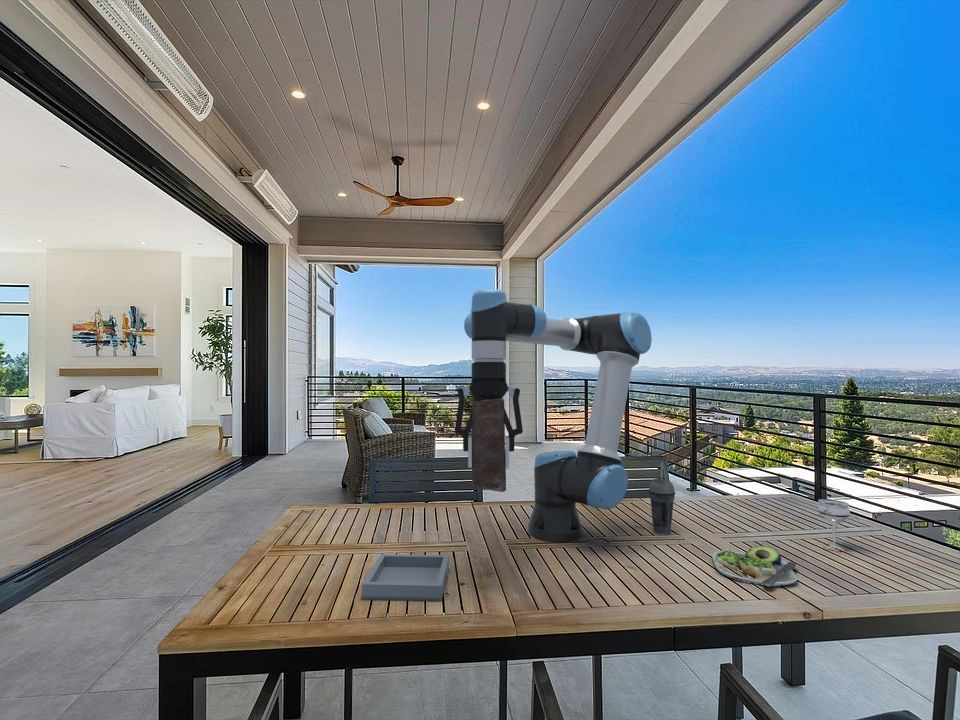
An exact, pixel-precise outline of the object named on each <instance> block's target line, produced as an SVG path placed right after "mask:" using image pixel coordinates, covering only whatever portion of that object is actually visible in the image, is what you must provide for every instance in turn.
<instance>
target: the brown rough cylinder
mask: <svg viewBox="0 0 960 720" xmlns="http://www.w3.org/2000/svg"><path fill="white" fill-rule="evenodd" d="M504 408H505V399H504V398H502V399H493V400H490V399H485V400H480V401H476V400H475V401H474V400H471V412H472V427H471V436H472V468H471V481H472V482H471V483H472V484H471V485H472V486H473V487H474V488H476V489H478V490H482V491H493V492H501V493H504V492H506V490H507V468H506V461H505V436H506V433H505V432H506V426H505V424H504Z"/></svg>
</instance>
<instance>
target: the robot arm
mask: <svg viewBox="0 0 960 720" xmlns="http://www.w3.org/2000/svg"><path fill="white" fill-rule="evenodd" d="M463 329H464V332H465V334H466V335H467V337H468V338H470V339H471V359H472V360H473V361H474V362H472V363H471V382H470V384H469V386H467V387H459V388H458V389H457V395H458V402H457V403H458V405H457V412H456V417H455V425H454V433H455V434H458V435H460V436H462V450H463V452H467V454H468V455H467V459H468V460H467V461H468V462H467V463H468V464H467V468H469V469H470V468H471V469H472V435H470V431H472V411H471V413H470V415H469V417H468V419H467V422H466V425H465V428H462V425H463V417H464V410H465V404H466V398H467V397H468V395H469V393H471V394H472V396H473V397H474V398H475V401H480V400H485V399H490V400H493V399H504V397H505V395H506V394H507V392H508V393H509V396H510V398H512V406H513V412H514V422H515V428H514V429H513V426H512V423H511V421H510V419H509V416H508V413H507V410H506V409H505V407H504V424H505V430H506V431H507V433H508V435H505V461H506V469H510V452H514V451H515V437H516V436H517V435H522V434H523V432H524V430H523V423H522V416H521V409H520V408H521V407H520V400H519V399H520V395H521V389H520V388H519V387H511V386H509V385H508V384H507V363H506V362H504V360H506V359H507V342H513V343H524V344H535V345H541V346H542V345H545V346H553V347H554V346H555V347H559V348H560V349H561V350H563V351H569V352H570V351H571V352H577V353H581V354H587V355H593V356H594V355H595V357H596V358H597V359H598V361H599V362H600V364H599V370H598V375H597V379H596V385H595V389H594V395H593V401H592V407H591V411H590V416H589V422H588V426H587V431H586V432H587V433H586V438H585V443H584V445H583V446H582V447H581V448H579V449H578V450H577V453H576V451H574V450H558V451H557V450H556V451H555V450H554V451H545V452H540V453H538V454H537V455H536V456H535V459H534V467H533V469H534V473H533V474H534V475H533V476H534V506H533V509H532V512H531V514H530V518H529V521H528V533H529V535H530V536H532V537H534V538H536V539H539V540H543V541H550V542H570V541H571V542H572V541H574V540H577V539H580V538H581V537H582V536H583V525H582V522H581V520H580V517H579V513H578V510H577V503H578V504H581V505H585V506H587V507H590V508H593V509H602V510H612V509H614V508H615V507H617V506H618V504H620V503H621V502H622V500H623V499H624V497H625V495H626V493H627V490H628V484H629V479H628V478H629V477H628V473H627V470H626V469H625V468H624V467H623V466H622V458H621V457H620V455H619V453H618V450H619V449H618V448H619V444H620V438H621V433H622V428H623V427H622V426H623V421H624V415H625V409H626V404H627V403H626V402H627V398H628V393H629V386H630V381H631V375H632V369H633V368H634V367H635V366H637V365H638V364H639V362H640V357H641V355H644V354H646V353H647V352H649V350H650V349H651V346H652V331H651V327H650V325H649V322H648V320H647V319H646V318H645V316H644V315H642V314H641V313H639V312H637V311H636V312H635V311H633V312H631V311H630V312H629V311H628V312H626V311H623V312H621V313H620V312H617V313H611V314H600V315H592V316H586V317H580V318H579V317H578V318H573V317H566V318H563V319H555V318H547V314H546V312H545V311H544V309H543V308H542V307H540V306H537V305H534V304H529V303H528V304H525V303H524V304H523V303H515V302H509V301H508V300H507V296H506V292H505V291H503V290H501V289H493V288H492V289H489V288H487V289H486V288H485V289H480V290H476V291H475V292H474V293H472V298H471V310H470V312H469V313H468V314H467V315H466V317H465V319H464V323H463Z"/></svg>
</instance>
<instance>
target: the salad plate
mask: <svg viewBox="0 0 960 720" xmlns="http://www.w3.org/2000/svg"><path fill="white" fill-rule="evenodd" d="M711 560H712V562H713V564H714V567H715V569H716V571H718V572H719V573H721V574H722V575H723V576H724V575H725V577H726V576H727V578H728V577H730V578H729V579H731V578H733V579H736V580H740V581H745V582H750V583H757V584H763V585H765V586H764V587H771V586H773V587H780V586H781V585H783V586H788V585H789V586H790V585H793V584H796V582H797V580H798V577H797V575H796V574H795V572H794V571H793V570H794V569H795V568H796V567H797V563H796V562H794V561H789V562H788V561H785V560H784V559H782V557H781V554H780V552H779V551H778V550H777V549H776V548H774V547H771V546H767V545H756V546H752V547H749V548H748V551H746V552H745V553H744V552H740V551H733V550H731V549H729V550H727V549H726V550H718V551H717V550H716V551H715V552H713V553H712V556H711ZM720 564H721V565H724V566H723V567H725V566H727V567H730V568H729V569H731V568H734V569H739V570H742V571H743V572H744V573H745V574H746V575H749V576H751V577H753V578H747V577H746V576H740V575H736V574H734V573H730V572H729V571H727V570H725V569H724V568H723V569H724V570H723V569H722V568H721V566H720ZM727 567H726V568H727ZM734 569H733V570H734ZM744 573H743V574H744ZM745 574H744V575H745ZM733 579H732V580H733ZM736 580H735V581H736ZM740 581H739V582H740ZM750 583H749V584H750Z"/></svg>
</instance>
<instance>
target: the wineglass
mask: <svg viewBox="0 0 960 720" xmlns="http://www.w3.org/2000/svg"><path fill="white" fill-rule="evenodd" d="M817 501H818V503H819V504H818V507H817V508H818V513H819V515H820V516H821V517H822V518H823V520H826V521H828V522H829V523H830V525H831V526H832V527H831V529H832V541H833V543H832V544H828V545H829V546H830V547H833V548H840V546H838V545H836V533H837V527H836V526H837V525H838V524H840V523H844V522H846V520H848V519H849V518H850V514H851V511H850V508H849V507H850V503H848V502H845V501H841V500H837V499H829V498H826V499H824V498H823V499H822V498H821V499H818V500H817Z"/></svg>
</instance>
